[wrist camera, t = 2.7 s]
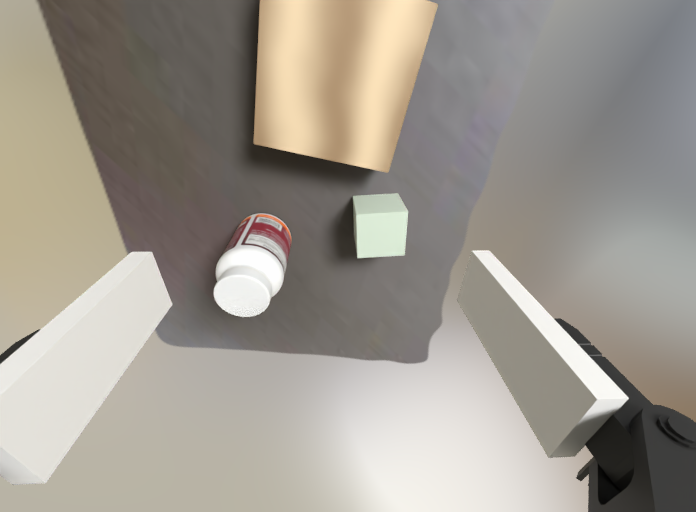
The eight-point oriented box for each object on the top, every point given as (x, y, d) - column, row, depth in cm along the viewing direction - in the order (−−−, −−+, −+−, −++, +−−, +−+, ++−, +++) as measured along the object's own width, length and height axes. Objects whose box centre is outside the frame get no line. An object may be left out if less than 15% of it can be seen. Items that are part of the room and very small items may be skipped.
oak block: (262, 135, 27) (253, 144, 24) (272, -33, 21) (262, -54, 18) (381, 161, 29) (388, 172, 26) (422, 14, 23) (438, 4, 20)
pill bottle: (252, 263, 35) (224, 330, 26) (228, 219, 32) (187, 278, 22) (300, 250, 34) (289, 314, 25) (280, 205, 31) (259, 259, 22)
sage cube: (354, 235, 34) (357, 258, 30) (352, 195, 31) (356, 214, 27) (395, 232, 34) (404, 255, 30) (397, 193, 31) (408, 211, 27)
